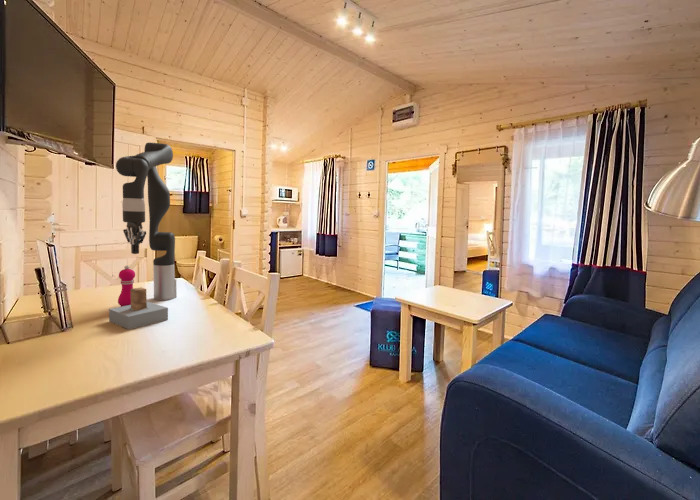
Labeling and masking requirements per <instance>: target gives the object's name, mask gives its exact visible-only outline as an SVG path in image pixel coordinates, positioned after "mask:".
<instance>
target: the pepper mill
mask: <svg viewBox="0 0 700 500" xmlns="http://www.w3.org/2000/svg"><path fill="white" fill-rule="evenodd" d="M135 277H136V272H135V271H134V269H131V268H130V266H129V265H125V266H124V269H121V270H120V271H119V272H118V278H119V279H120V281H119V282H120V283H119V284H120V285H121V291H120V293H119V295H118V298H117V304H118V305H119V307H122V306H127V305H131V289H134V283H135V279H134V278H135Z"/></svg>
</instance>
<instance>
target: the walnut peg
mask: <svg viewBox="0 0 700 500" xmlns="http://www.w3.org/2000/svg"><path fill="white" fill-rule="evenodd" d="M147 302H148V301H147V288H144V287H133V289H131V310H134V311H139V310H143V309H147Z"/></svg>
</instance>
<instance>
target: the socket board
mask: <svg viewBox="0 0 700 500" xmlns="http://www.w3.org/2000/svg"><path fill="white" fill-rule="evenodd" d="M108 316H109V318H108V319H109V323H113V324H115V325H117V326H120V327H122V328H125V329H127V330H132V329H136V328H141V327H145V326H148V325H152V324H157V323H160V322H164V321H168V320H169V308H168V307H166V306H163V305H160V304H157V303H153V302H151V301H147V309H143V310H139V311H134V310H131V305H127V306H122V307H120V306H118V307H113V308H109V309H108Z"/></svg>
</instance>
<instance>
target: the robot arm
mask: <svg viewBox="0 0 700 500" xmlns="http://www.w3.org/2000/svg"><path fill="white" fill-rule="evenodd" d="M173 158H174V153H173V149H172V147H171V145H169V144H167V143H160V142H147V143H145V145H144V151H143V152H140V153H137V154H135V155H128V156H127V155H126V156H122V157H119V158H118V159H117V161H116V164H115V169H116V171H117V172H118V174H119V175H121V176H123V177H130V178H131V177H133V178H135V179H134V180H133V181H132V182H131V181H130V182H126V183H123V185H122V222H123V223H126V228H124V229H122V231H123V233H124V237H125V239H126V241H127V243H129V244H130V250H131V254H132V255H137V254H139V253H140V244H143V242H144V239H145V237H146V235H147V231H146V230H145V231H144V230H143V228H144V227H143V223H145V222H146V203H145V193H144V192H145V191H144V190H145V184H146V181H147V201H148V203H147V205H148V213H149V215H148V216H149V217H148V218H149V226H148V227H149V228H148V229H149V232H148V236H149V237H148V244H149V247H150V248H149V249H151V250H152V251H156V252H157V251H158V252H159V251H161V252H165V251H166V253H165V254H164V255H162V256H158V257H156V258H154V259H153V260H152V261H153V262H152V263H153V266H152V267H153V299H154V300H157V301H168V300H174V299H175V298H177V295H178V293H177V278H175V276H176V275H175V248H176V237H175V234H174V233H173V232H167V231H159V225H160V223H161V221H162V219H163V218H164V216H165V215H166V214H167V212H168V210H169V209H170V208H171V207H170V206H171V194H170V193H171V192H170V191H169V190H170V189H169V188H168V186H167V185H166V184H165V182H164V181H163V180H162V178H161V177H160V175H159V172H158V169H157V166H161V165H168V164H170V163H172V161H173Z"/></svg>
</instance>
